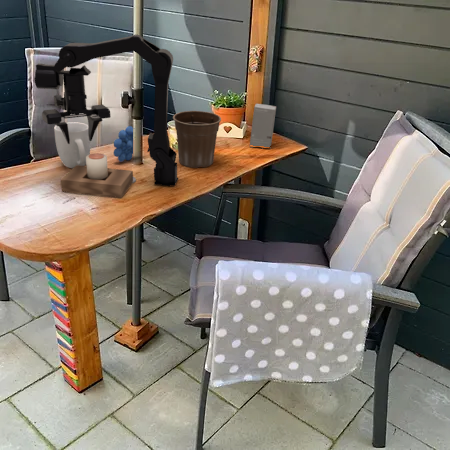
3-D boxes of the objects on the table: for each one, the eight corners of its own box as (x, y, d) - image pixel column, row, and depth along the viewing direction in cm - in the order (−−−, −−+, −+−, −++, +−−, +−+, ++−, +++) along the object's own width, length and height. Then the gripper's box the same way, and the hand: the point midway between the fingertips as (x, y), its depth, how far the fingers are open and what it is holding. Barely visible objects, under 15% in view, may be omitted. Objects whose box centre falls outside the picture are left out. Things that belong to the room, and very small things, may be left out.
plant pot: (209, 173, 163) (211, 126, 156) (165, 166, 168) (165, 119, 160) (224, 158, 177) (227, 114, 170) (183, 151, 181) (184, 108, 174)
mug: (101, 171, 160) (98, 132, 154) (67, 177, 154) (63, 137, 148) (85, 157, 171) (82, 120, 165) (53, 162, 165) (49, 124, 159)
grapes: (132, 153, 177) (131, 120, 171) (145, 158, 173) (144, 125, 167) (106, 161, 169) (104, 127, 163) (119, 166, 165) (117, 131, 159)
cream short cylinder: (110, 172, 149) (109, 153, 147) (104, 180, 144) (102, 160, 141) (91, 171, 150) (90, 151, 147) (84, 178, 145) (82, 158, 142)
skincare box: (249, 147, 190) (252, 107, 182) (251, 142, 196) (254, 102, 188) (271, 150, 189) (275, 109, 181) (272, 144, 195) (276, 104, 187)
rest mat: (138, 177, 157) (138, 176, 157) (132, 185, 151) (132, 184, 151) (117, 175, 158) (117, 174, 158) (110, 183, 152) (110, 182, 152)
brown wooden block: (133, 182, 153) (132, 170, 152) (121, 198, 143) (120, 185, 141) (77, 177, 155) (76, 165, 153) (61, 192, 144) (60, 179, 142)
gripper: (96, 82, 152) (99, 131, 159) (34, 86, 142) (40, 138, 150) (109, 89, 143) (112, 141, 151) (44, 95, 134) (51, 149, 141)
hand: (79, 142), depth 148 cm, fingers open, 6 cm apart
